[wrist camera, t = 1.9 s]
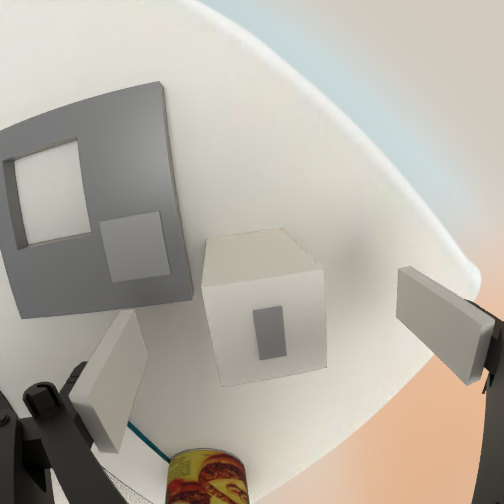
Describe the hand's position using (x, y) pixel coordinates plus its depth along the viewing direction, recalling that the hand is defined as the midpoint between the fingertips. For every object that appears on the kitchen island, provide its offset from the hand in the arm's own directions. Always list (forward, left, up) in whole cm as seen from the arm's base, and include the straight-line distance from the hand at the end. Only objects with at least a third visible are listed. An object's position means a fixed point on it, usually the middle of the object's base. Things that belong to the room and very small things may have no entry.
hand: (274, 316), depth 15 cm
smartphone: (-14, -20, -8) cm, 26 cm away
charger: (0, 0, -8) cm, 8 cm away
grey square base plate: (-11, +6, -8) cm, 15 cm away
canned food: (-8, -21, -8) cm, 24 cm away
